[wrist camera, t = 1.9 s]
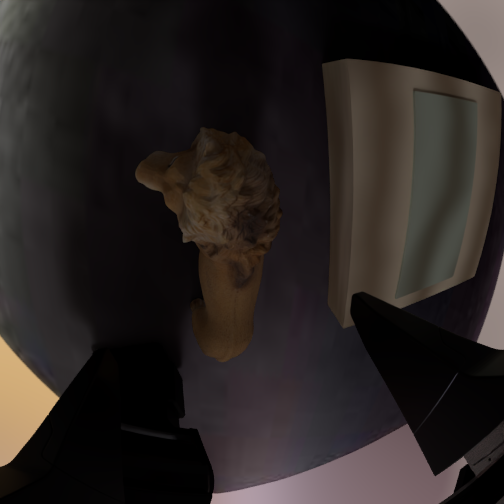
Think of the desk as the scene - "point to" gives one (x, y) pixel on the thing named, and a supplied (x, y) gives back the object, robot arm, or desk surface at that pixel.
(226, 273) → the lion figurine
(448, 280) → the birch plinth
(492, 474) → the robot arm
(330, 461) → the desk surface
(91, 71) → the desk surface
